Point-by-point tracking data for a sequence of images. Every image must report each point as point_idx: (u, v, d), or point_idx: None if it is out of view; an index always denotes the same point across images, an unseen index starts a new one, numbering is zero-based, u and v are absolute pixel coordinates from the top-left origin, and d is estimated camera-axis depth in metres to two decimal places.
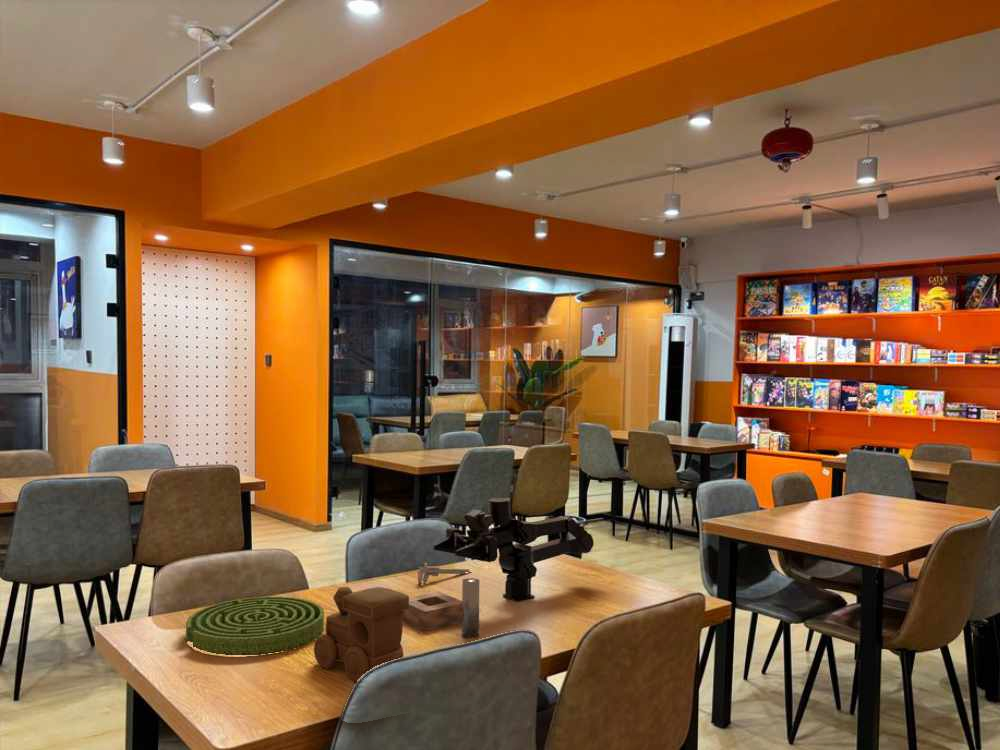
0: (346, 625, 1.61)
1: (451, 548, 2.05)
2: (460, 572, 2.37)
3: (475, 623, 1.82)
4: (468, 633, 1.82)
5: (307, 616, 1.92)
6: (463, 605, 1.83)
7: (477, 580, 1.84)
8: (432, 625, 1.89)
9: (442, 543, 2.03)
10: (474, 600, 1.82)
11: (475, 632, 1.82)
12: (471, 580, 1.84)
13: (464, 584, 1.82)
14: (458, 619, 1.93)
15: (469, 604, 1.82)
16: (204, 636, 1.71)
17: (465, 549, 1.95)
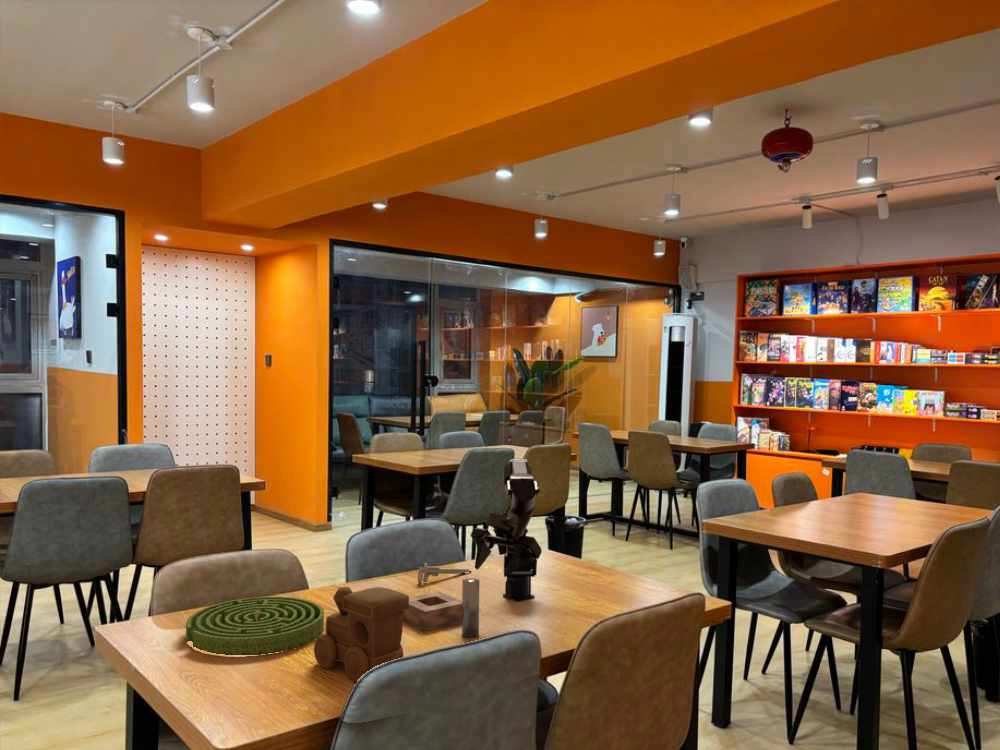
0: (346, 625, 1.61)
1: (487, 552, 1.97)
2: (460, 572, 2.37)
3: (475, 623, 1.82)
4: (468, 633, 1.82)
5: (307, 616, 1.92)
6: (463, 605, 1.83)
7: (477, 580, 1.84)
8: (432, 625, 1.89)
9: (479, 558, 1.94)
10: (474, 600, 1.82)
11: (475, 632, 1.82)
12: (471, 580, 1.84)
13: (464, 584, 1.82)
14: (458, 619, 1.93)
15: (469, 604, 1.82)
16: (204, 636, 1.71)
17: (512, 565, 1.88)
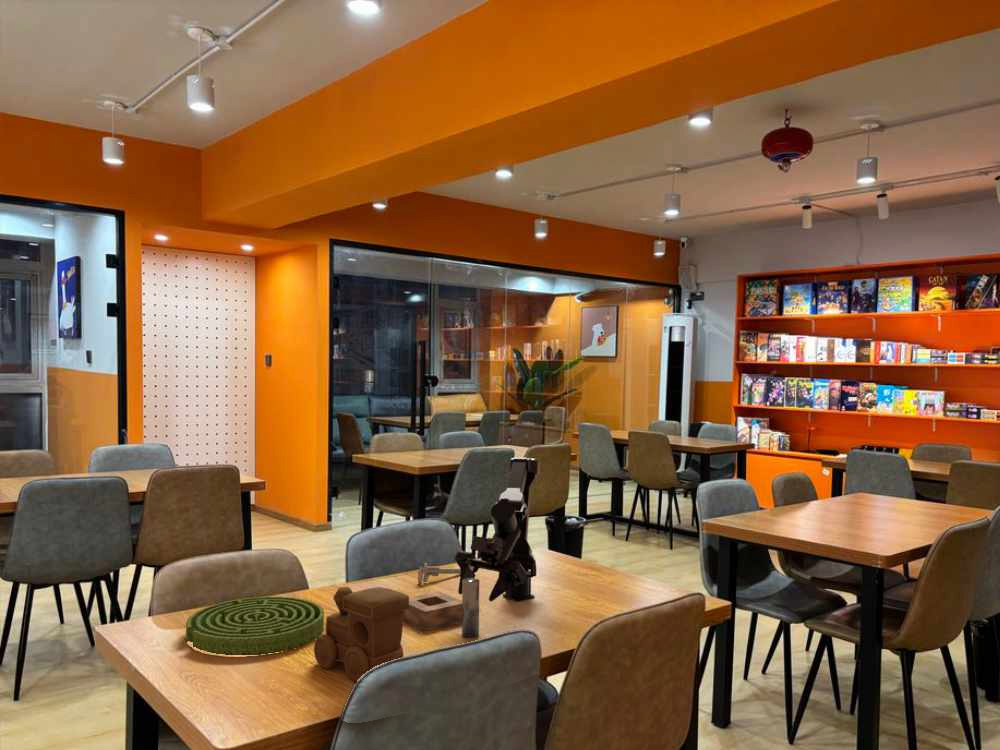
0: (346, 625, 1.61)
1: (471, 576, 1.92)
2: (460, 572, 2.37)
3: (475, 623, 1.82)
4: (468, 633, 1.82)
5: (307, 616, 1.92)
6: (463, 605, 1.83)
7: (477, 580, 1.84)
8: (432, 625, 1.89)
9: None
10: (474, 600, 1.82)
11: (475, 632, 1.82)
12: (471, 580, 1.84)
13: (464, 584, 1.82)
14: (458, 619, 1.93)
15: (469, 604, 1.82)
16: (204, 636, 1.71)
17: (496, 590, 1.83)
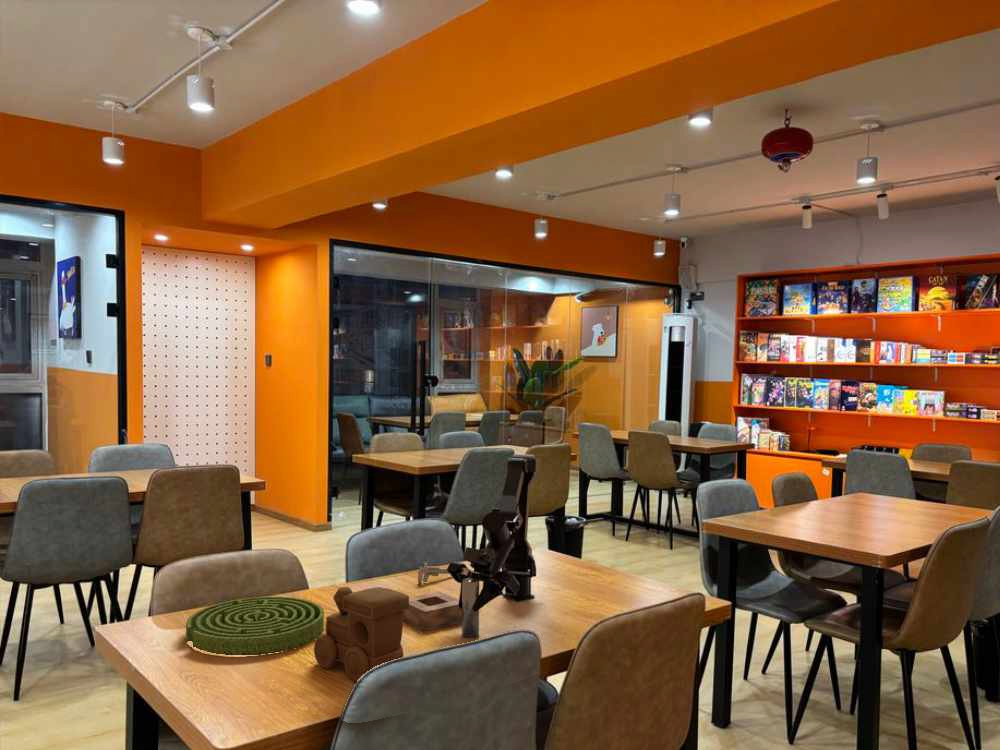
0: (346, 625, 1.61)
1: None
2: None
3: (475, 623, 1.82)
4: (468, 633, 1.82)
5: (307, 616, 1.92)
6: (463, 605, 1.83)
7: (477, 580, 1.84)
8: (432, 625, 1.89)
9: None
10: (474, 599, 1.82)
11: (475, 632, 1.82)
12: (471, 580, 1.84)
13: (464, 584, 1.82)
14: (458, 619, 1.93)
15: (469, 604, 1.82)
16: (204, 636, 1.71)
17: (480, 600, 1.82)
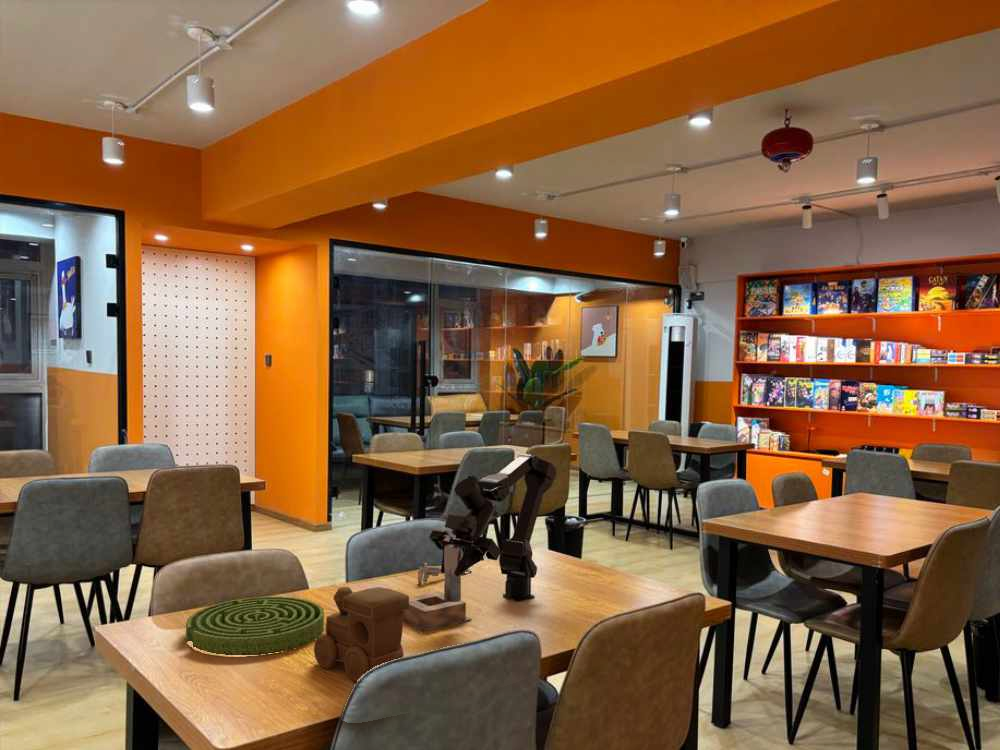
0: (346, 625, 1.61)
1: None
2: None
3: (457, 588, 1.88)
4: (451, 597, 1.88)
5: (307, 616, 1.92)
6: (445, 570, 1.88)
7: (459, 546, 1.89)
8: (432, 625, 1.89)
9: None
10: (456, 565, 1.88)
11: (457, 596, 1.88)
12: (453, 546, 1.89)
13: (446, 550, 1.88)
14: (458, 619, 1.93)
15: (451, 569, 1.88)
16: (204, 636, 1.71)
17: (462, 565, 1.88)
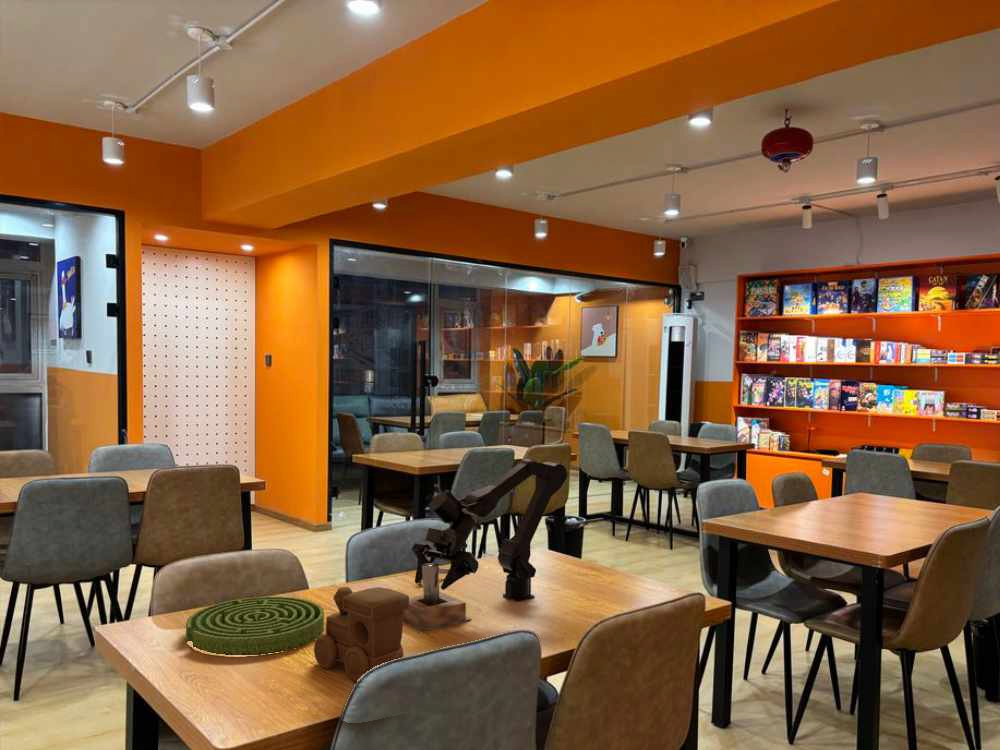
0: (346, 625, 1.61)
1: None
2: None
3: None
4: None
5: (307, 616, 1.92)
6: (424, 588, 1.95)
7: (436, 564, 1.96)
8: (432, 625, 1.89)
9: (419, 572, 1.98)
10: (434, 583, 1.94)
11: None
12: (430, 565, 1.95)
13: (424, 569, 1.94)
14: (458, 619, 1.93)
15: (429, 587, 1.94)
16: (204, 636, 1.71)
17: (448, 579, 1.92)
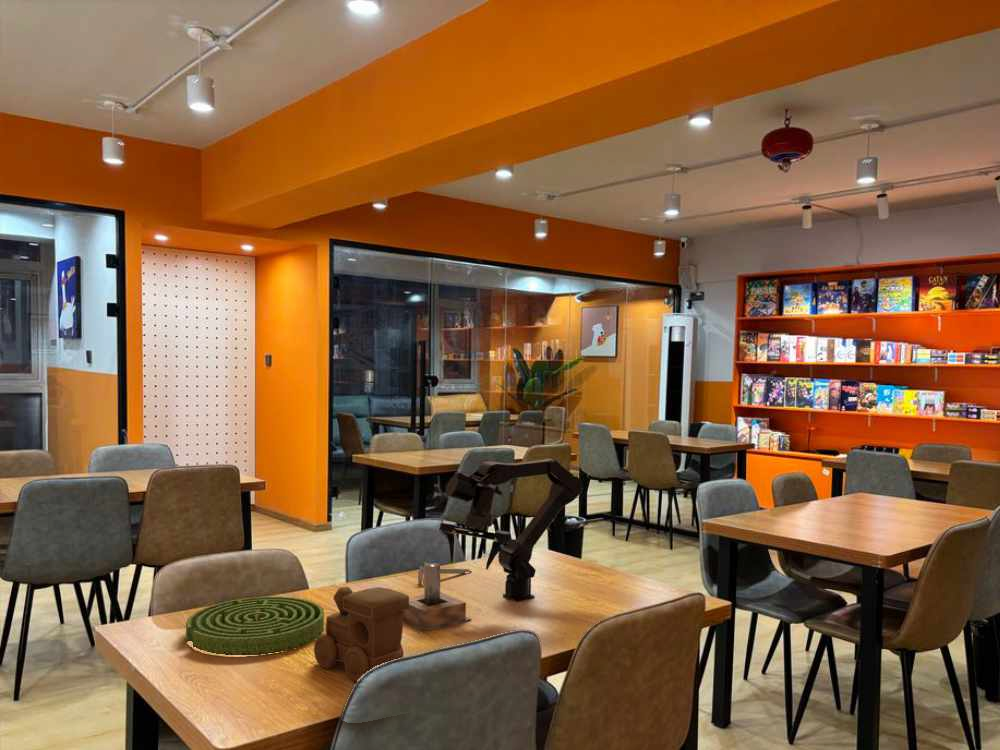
0: (346, 625, 1.61)
1: (455, 542, 2.06)
2: (460, 572, 2.37)
3: None
4: None
5: (307, 616, 1.92)
6: (425, 588, 1.95)
7: (438, 565, 1.96)
8: (432, 625, 1.89)
9: (453, 552, 2.03)
10: (435, 583, 1.94)
11: None
12: (432, 565, 1.95)
13: (425, 569, 1.94)
14: (458, 619, 1.93)
15: (430, 588, 1.94)
16: (204, 636, 1.71)
17: (491, 559, 2.01)
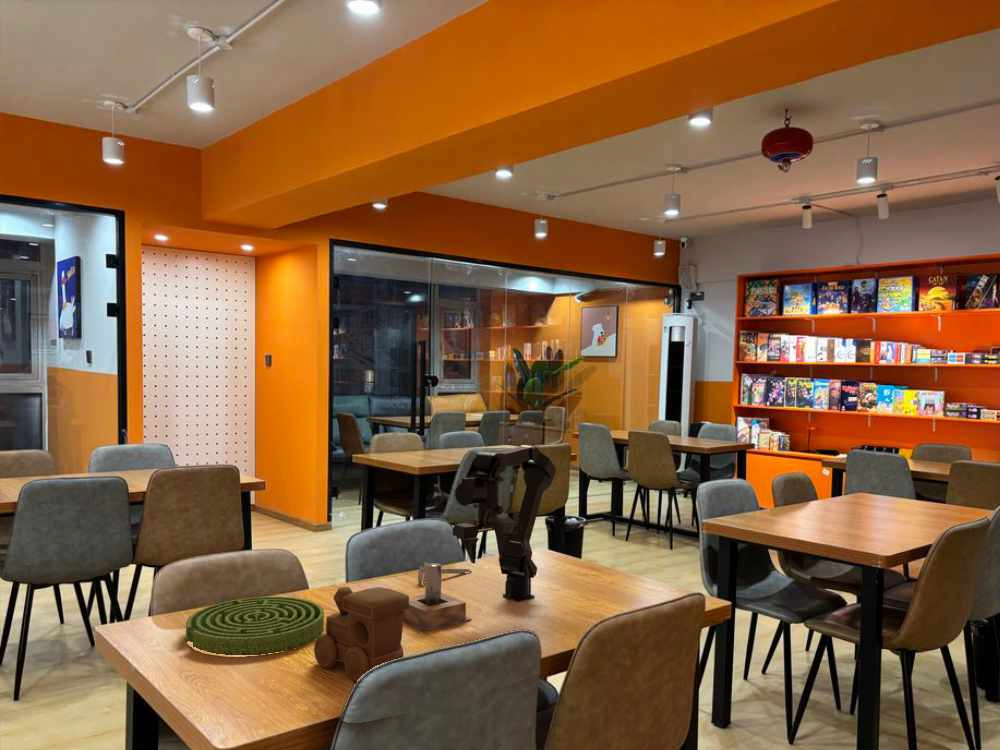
0: (346, 625, 1.61)
1: None
2: (460, 572, 2.37)
3: None
4: None
5: (307, 616, 1.92)
6: (426, 588, 1.95)
7: (439, 565, 1.96)
8: (432, 625, 1.89)
9: None
10: (436, 583, 1.94)
11: None
12: (434, 565, 1.96)
13: (427, 568, 1.94)
14: (458, 619, 1.93)
15: (431, 587, 1.94)
16: (204, 636, 1.71)
17: None
